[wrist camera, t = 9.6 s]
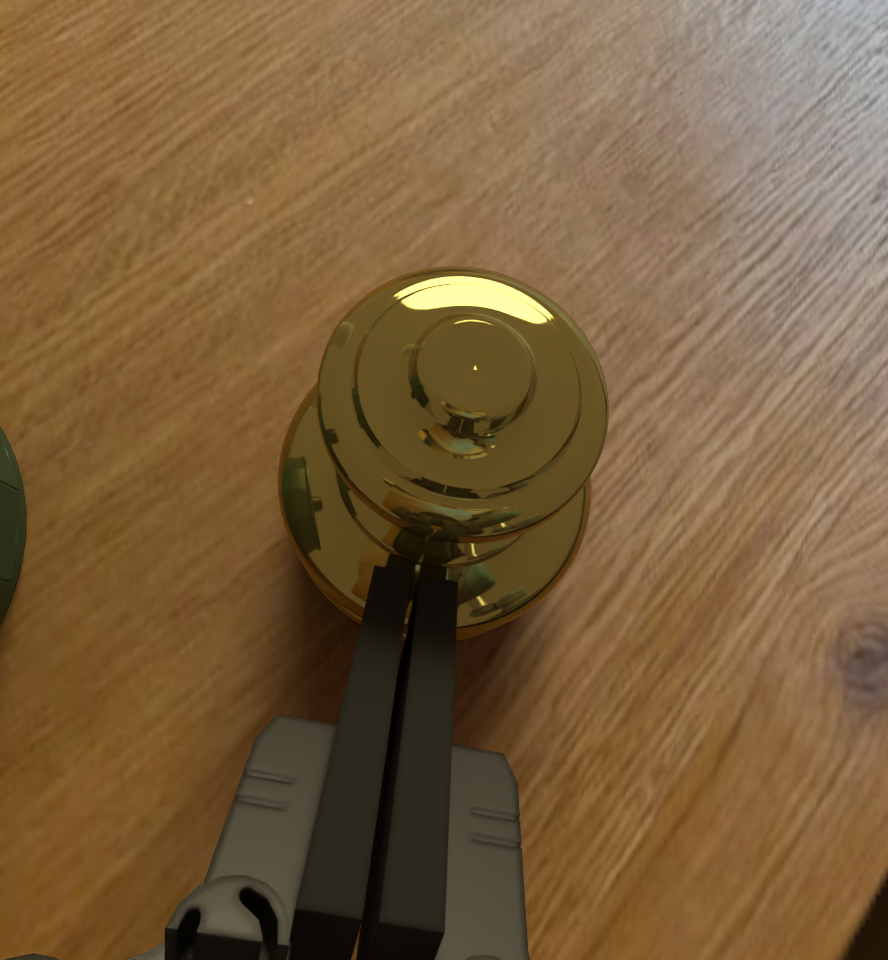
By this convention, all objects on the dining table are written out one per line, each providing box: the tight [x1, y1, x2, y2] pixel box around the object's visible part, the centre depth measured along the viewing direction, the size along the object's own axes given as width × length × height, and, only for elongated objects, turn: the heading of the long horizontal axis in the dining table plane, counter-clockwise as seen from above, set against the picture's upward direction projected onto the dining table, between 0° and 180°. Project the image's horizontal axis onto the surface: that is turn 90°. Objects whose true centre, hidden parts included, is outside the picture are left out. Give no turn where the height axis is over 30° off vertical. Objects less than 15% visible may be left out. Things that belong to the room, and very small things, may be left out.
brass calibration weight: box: [278, 266, 609, 641], centre depth 15 cm, size 7×7×10 cm
